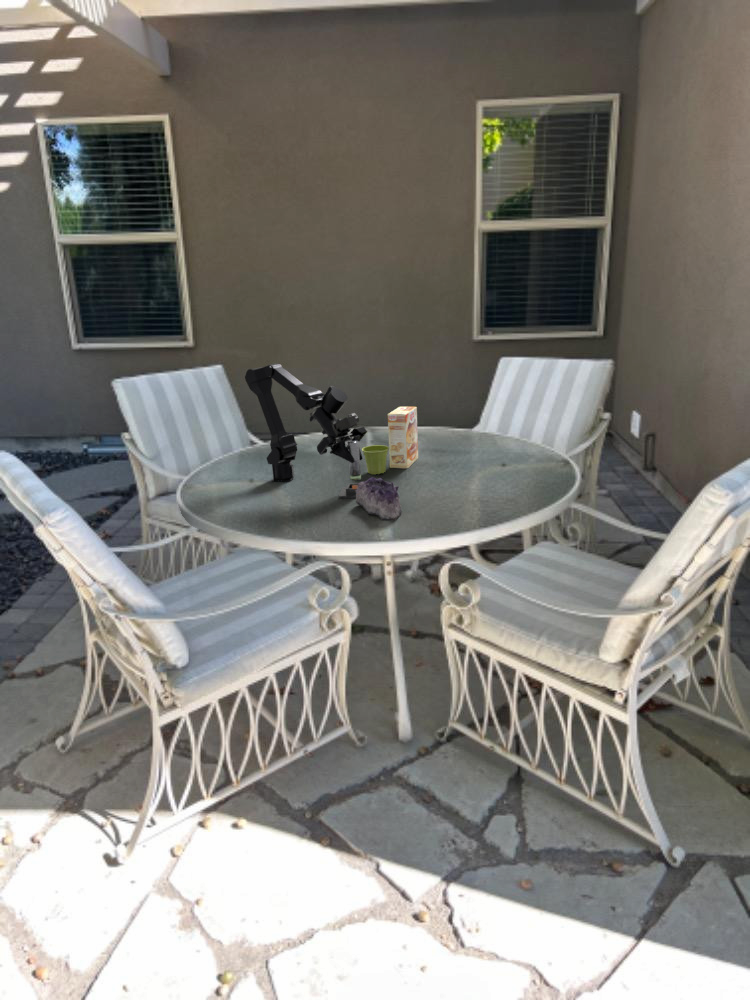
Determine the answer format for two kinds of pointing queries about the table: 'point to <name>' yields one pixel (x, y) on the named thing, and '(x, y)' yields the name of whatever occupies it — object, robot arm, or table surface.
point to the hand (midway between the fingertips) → (357, 460)
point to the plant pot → (375, 458)
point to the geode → (379, 498)
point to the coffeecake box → (403, 437)
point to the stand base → (348, 491)
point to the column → (355, 467)
